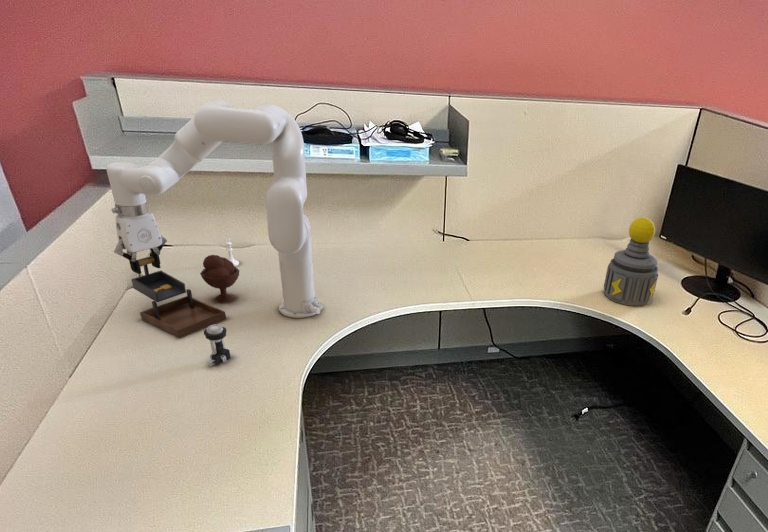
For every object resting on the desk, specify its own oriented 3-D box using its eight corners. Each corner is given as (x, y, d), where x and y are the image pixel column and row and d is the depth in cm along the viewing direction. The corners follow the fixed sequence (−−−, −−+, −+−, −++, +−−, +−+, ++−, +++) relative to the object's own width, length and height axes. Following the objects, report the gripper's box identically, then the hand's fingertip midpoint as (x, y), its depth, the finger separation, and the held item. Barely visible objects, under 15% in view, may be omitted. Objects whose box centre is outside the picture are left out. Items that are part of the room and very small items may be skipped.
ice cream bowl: (230, 308, 175) (223, 263, 167) (198, 302, 176) (189, 257, 169) (250, 295, 184) (243, 252, 176) (219, 289, 185) (211, 246, 178)
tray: (226, 319, 169) (222, 299, 166) (179, 338, 158) (174, 317, 154) (189, 302, 176) (185, 283, 173) (141, 320, 164) (136, 299, 161)
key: (167, 285, 169) (167, 283, 169) (172, 287, 168) (171, 286, 168) (149, 291, 165) (148, 289, 165) (154, 293, 164) (153, 292, 164)
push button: (217, 370, 146) (210, 336, 141) (201, 365, 147) (194, 331, 142) (236, 358, 151) (230, 325, 146) (220, 353, 153) (213, 321, 148)
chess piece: (241, 264, 204) (237, 238, 199) (228, 267, 201) (223, 240, 196) (235, 260, 207) (231, 234, 202) (221, 263, 204) (217, 236, 199)
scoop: (186, 292, 169) (182, 267, 164) (157, 302, 162) (152, 276, 157) (160, 278, 173) (156, 253, 168) (131, 287, 166) (126, 261, 161)
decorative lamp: (592, 293, 211) (607, 215, 195) (619, 282, 223) (635, 207, 208) (635, 311, 200) (655, 230, 185) (661, 298, 213) (681, 221, 197)
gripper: (108, 218, 149) (125, 282, 158) (169, 206, 162) (182, 265, 171) (92, 212, 152) (109, 274, 161) (153, 200, 165) (166, 258, 174)
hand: (146, 269), depth 166 cm, fingers closed on scoop, 5 cm apart
